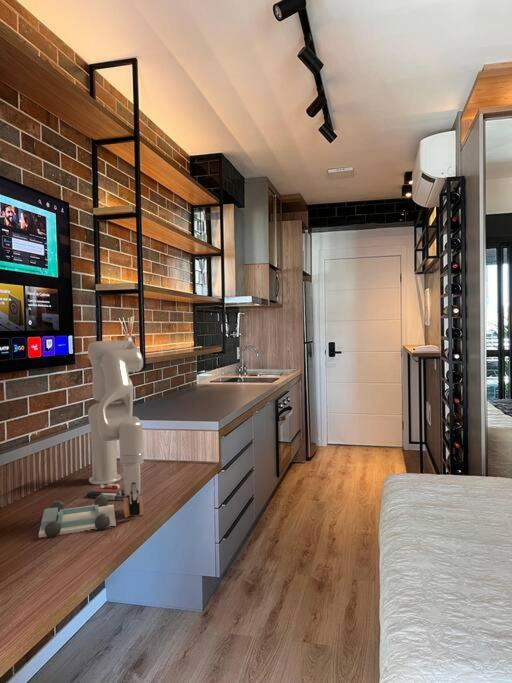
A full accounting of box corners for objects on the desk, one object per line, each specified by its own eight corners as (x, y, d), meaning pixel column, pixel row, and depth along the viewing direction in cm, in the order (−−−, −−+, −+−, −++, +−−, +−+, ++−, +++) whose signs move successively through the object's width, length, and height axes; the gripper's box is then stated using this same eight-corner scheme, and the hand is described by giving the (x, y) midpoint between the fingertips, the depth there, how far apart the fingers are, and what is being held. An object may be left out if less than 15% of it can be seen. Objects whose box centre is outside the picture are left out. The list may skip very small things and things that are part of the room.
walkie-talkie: (83, 500, 180) (134, 502, 176) (82, 488, 180) (133, 490, 176) (95, 492, 189) (144, 494, 185) (95, 481, 189) (144, 482, 185)
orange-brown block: (123, 513, 166) (123, 498, 166) (142, 510, 168) (141, 495, 167) (124, 518, 161) (124, 502, 161) (143, 515, 163) (143, 500, 163)
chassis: (44, 515, 165) (44, 502, 165) (113, 506, 172) (113, 493, 172) (38, 539, 146) (37, 524, 146) (116, 528, 153) (115, 513, 152)
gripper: (118, 453, 171) (120, 503, 171) (121, 466, 154) (123, 521, 155) (140, 451, 173) (142, 500, 174) (146, 463, 157) (147, 517, 157)
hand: (133, 510), depth 164 cm, fingers open, 8 cm apart
